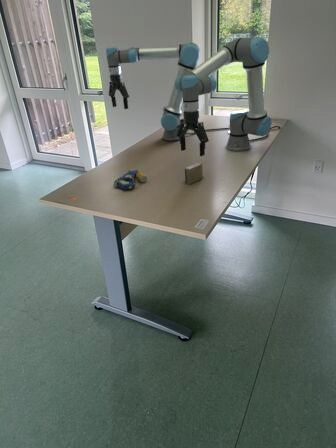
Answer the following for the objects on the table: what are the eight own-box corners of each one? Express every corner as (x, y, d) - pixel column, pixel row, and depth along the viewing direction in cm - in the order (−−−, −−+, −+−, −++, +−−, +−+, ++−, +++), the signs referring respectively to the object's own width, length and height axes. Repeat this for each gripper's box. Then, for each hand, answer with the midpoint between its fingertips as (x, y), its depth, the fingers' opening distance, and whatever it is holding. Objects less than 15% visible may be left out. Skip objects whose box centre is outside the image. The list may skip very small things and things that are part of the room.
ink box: (197, 176, 185) (197, 162, 180) (203, 178, 182) (202, 163, 178) (184, 182, 179) (183, 167, 175) (189, 184, 177) (189, 169, 172)
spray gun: (153, 176, 189) (130, 173, 195) (152, 169, 186) (129, 167, 193) (134, 192, 173) (110, 189, 180) (133, 185, 171) (109, 182, 177)
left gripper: (100, 74, 223) (105, 107, 234) (122, 75, 207) (127, 110, 218) (109, 72, 227) (114, 104, 238) (131, 73, 211) (136, 108, 222)
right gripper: (168, 109, 168) (171, 149, 179) (204, 115, 151) (205, 159, 162) (178, 106, 172) (181, 146, 183) (215, 111, 155) (215, 155, 166)
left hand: (120, 107), depth 228 cm, fingers open, 13 cm apart
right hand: (192, 152), depth 172 cm, fingers open, 13 cm apart
